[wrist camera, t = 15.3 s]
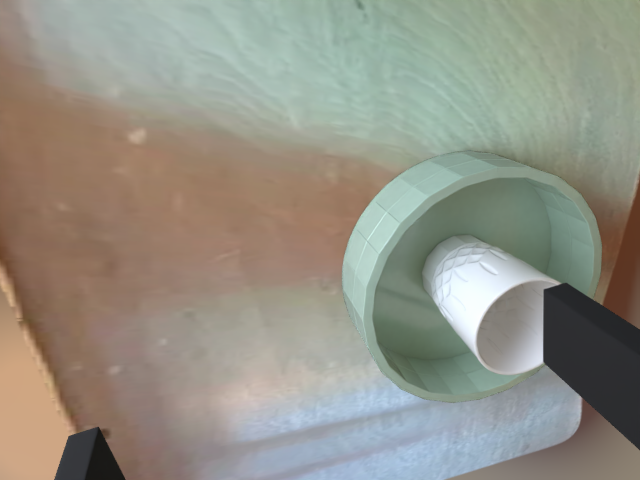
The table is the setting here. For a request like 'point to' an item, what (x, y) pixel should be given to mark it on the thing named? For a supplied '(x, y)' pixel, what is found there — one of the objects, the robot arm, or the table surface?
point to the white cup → (489, 301)
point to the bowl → (438, 225)
